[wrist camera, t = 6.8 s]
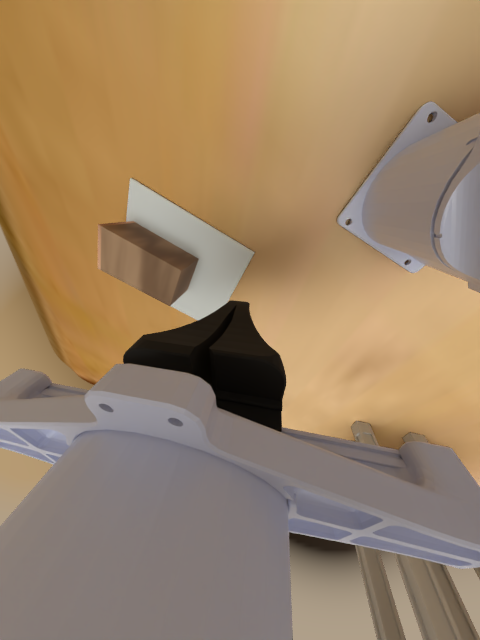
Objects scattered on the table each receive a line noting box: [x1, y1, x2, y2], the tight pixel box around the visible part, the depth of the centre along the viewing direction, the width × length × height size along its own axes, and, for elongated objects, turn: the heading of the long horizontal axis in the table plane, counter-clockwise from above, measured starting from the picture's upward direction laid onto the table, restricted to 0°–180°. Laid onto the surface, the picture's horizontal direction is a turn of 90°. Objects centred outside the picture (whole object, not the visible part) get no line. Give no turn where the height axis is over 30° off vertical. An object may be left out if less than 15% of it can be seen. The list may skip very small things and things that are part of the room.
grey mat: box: [126, 178, 255, 320], centre depth 21 cm, size 14×12×1 cm
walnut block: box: [98, 221, 199, 306], centre depth 19 cm, size 4×4×8 cm
